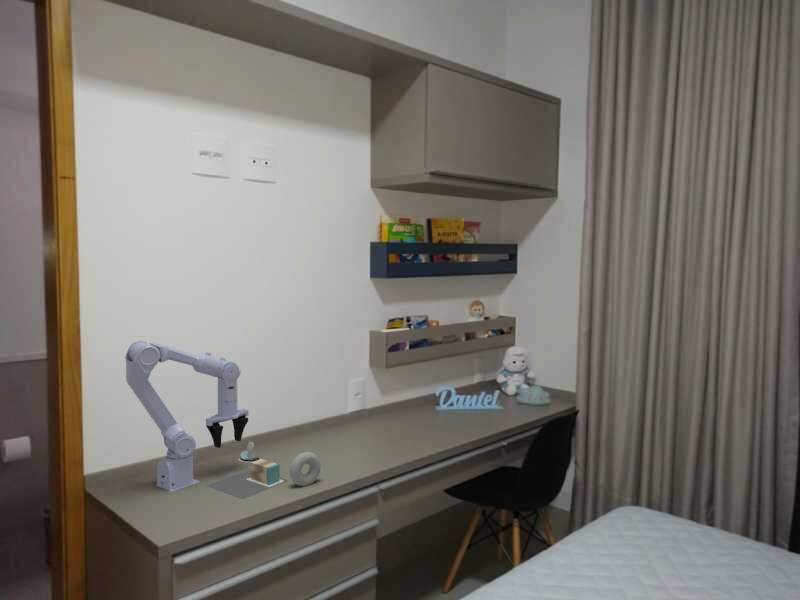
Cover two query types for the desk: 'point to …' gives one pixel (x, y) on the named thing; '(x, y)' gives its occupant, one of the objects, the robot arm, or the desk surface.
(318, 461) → the donut
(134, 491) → the desk surface
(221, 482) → the mat
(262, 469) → the card box
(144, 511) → the desk surface
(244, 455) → the pacifier
